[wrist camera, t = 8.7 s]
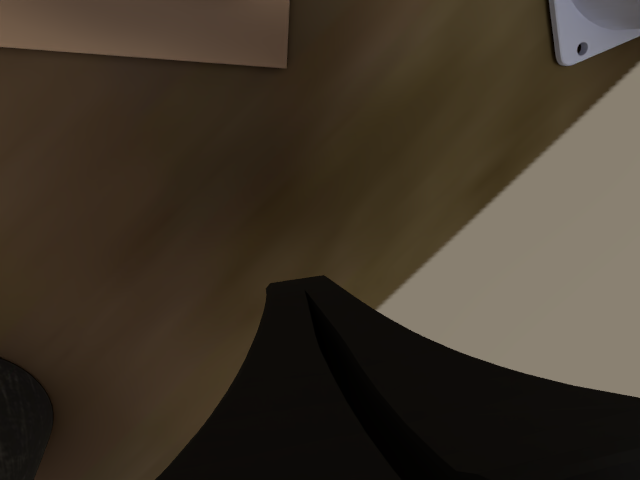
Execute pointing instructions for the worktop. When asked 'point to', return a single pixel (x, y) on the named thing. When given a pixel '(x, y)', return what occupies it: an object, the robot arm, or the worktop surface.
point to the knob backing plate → (153, 29)
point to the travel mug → (22, 423)
